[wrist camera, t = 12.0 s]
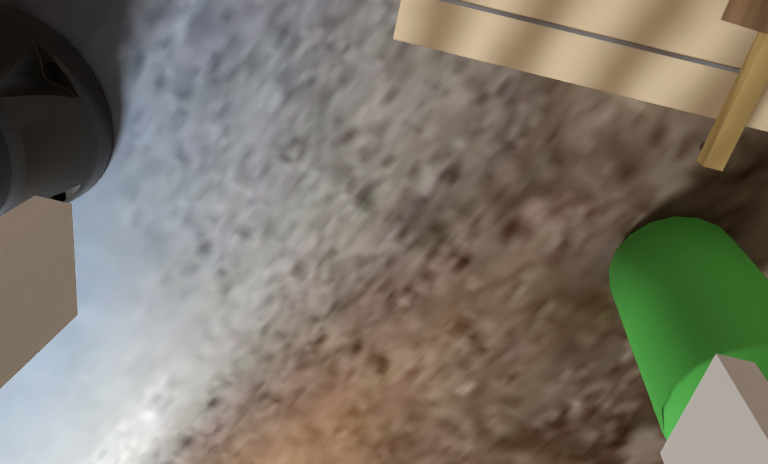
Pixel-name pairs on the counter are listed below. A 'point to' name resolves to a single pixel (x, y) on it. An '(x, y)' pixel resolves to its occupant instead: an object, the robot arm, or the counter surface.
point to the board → (598, 45)
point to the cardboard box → (739, 84)
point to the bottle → (687, 307)
